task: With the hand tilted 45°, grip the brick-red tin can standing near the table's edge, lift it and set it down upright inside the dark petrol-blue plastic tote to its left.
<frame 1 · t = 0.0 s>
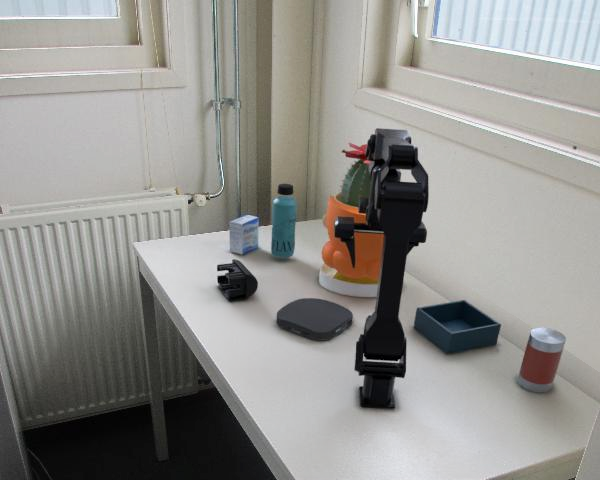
hand: (375, 268, 143), 15 cm above the table, tool pointing down, fingers open, 9 cm apart
media streaming box: (314, 324, 153), on the table
medicine box: (244, 250, 189), on the table
beverage bottle: (282, 259, 185), on the table
tote: (454, 336, 151), on the table
tin can: (534, 383, 136), on the table
end cap: (237, 293, 164), on the table
potted cactus: (361, 287, 171), on the table
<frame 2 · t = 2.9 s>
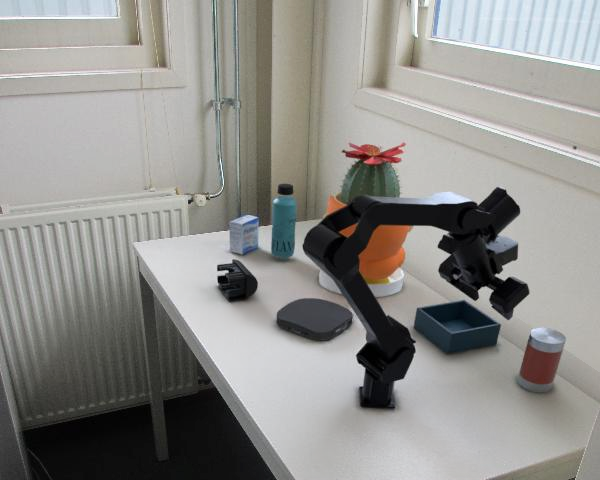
hand: (492, 308, 132), 14 cm above the table, tool tilted 35°, fingers open, 9 cm apart
nothing on the table moved.
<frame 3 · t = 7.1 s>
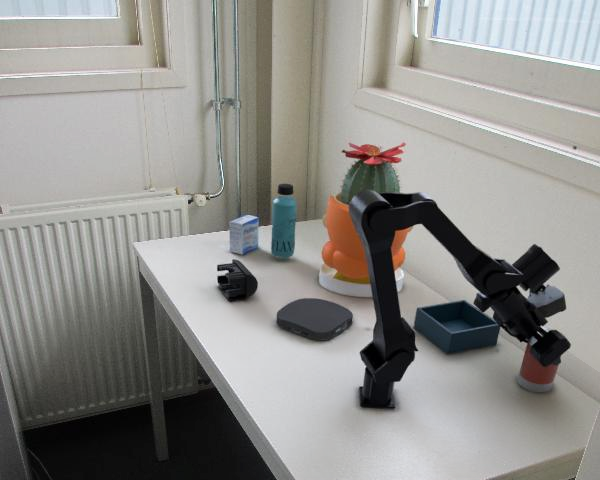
hand: (548, 354, 132), 7 cm above the table, tool tilted 45°, fingers closed on tin can, 7 cm apart
tin can: (534, 383, 136), on the table, touching gripper
everything else where it was.
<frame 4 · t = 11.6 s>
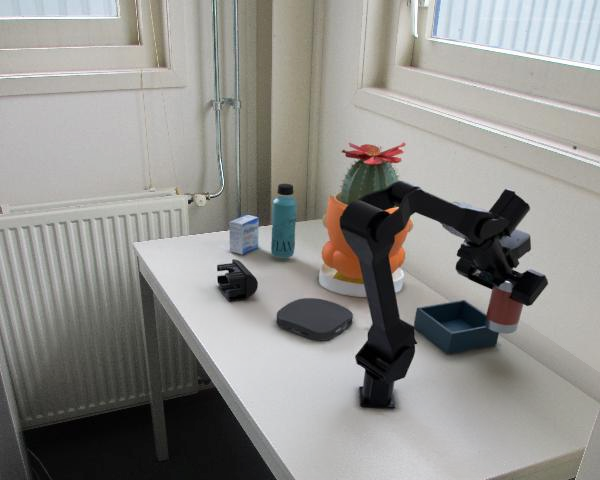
hand: (512, 296, 139), 13 cm above the table, tool tilted 45°, fingers closed on tin can, 7 cm apart
tin can: (500, 326, 142), point 7 cm above the table, touching gripper
everything else where it was.
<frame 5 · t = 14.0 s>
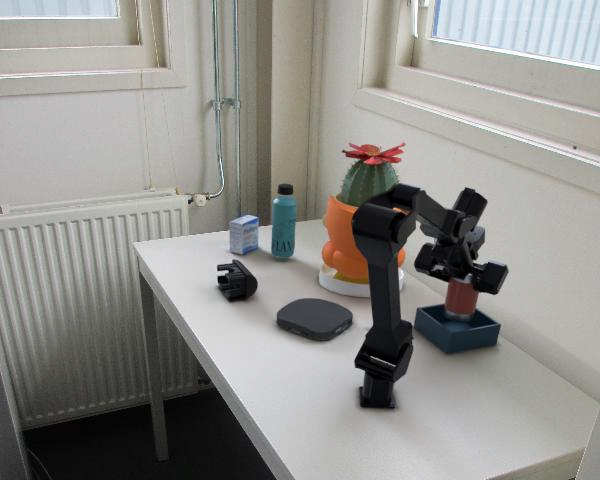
hand: (466, 286, 146), 12 cm above the table, tool tilted 45°, fingers closed on tin can, 7 cm apart
tin can: (458, 315, 148), point 5 cm above the table, touching gripper
everything else where it was.
when the fingers open (7 cm above the table, at t = 16.1 s): tin can stays where it is, resting on tote.
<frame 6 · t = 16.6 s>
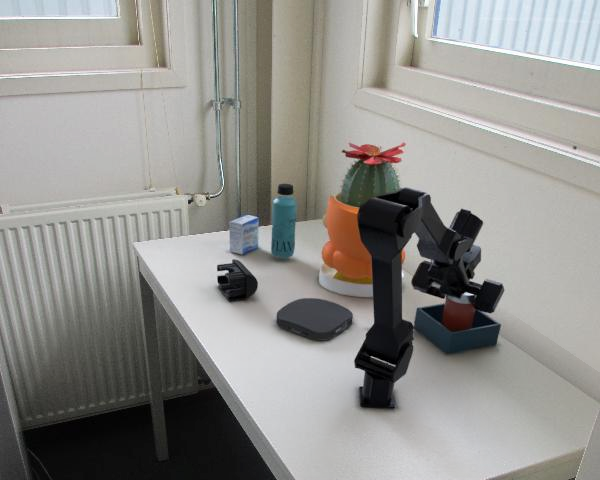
hand: (463, 302, 148), 8 cm above the table, tool tilted 45°, fingers open, 9 cm apart
tin can: (454, 334, 151), resting on tote
everything else where it was.
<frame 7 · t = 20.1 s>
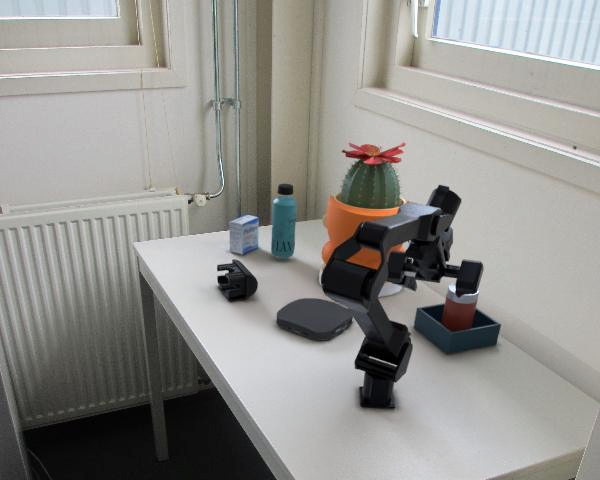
hand: (437, 292, 139), 13 cm above the table, tool tilted 40°, fingers open, 9 cm apart
nothing on the table moved.
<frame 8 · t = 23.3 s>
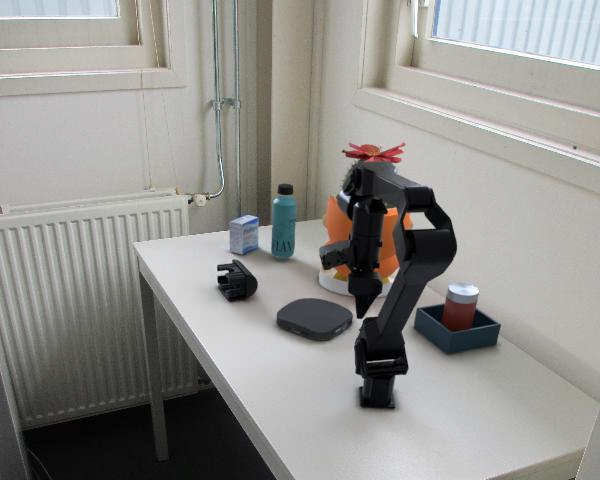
hand: (358, 308, 133), 12 cm above the table, tool pointing down, fingers open, 9 cm apart
nothing on the table moved.
at the end: tin can inside the target area in the tote (0.1 cm from its centre), point 0.5 cm above the tote's base; tin can tilted 0°; the gripper is holding nothing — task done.
